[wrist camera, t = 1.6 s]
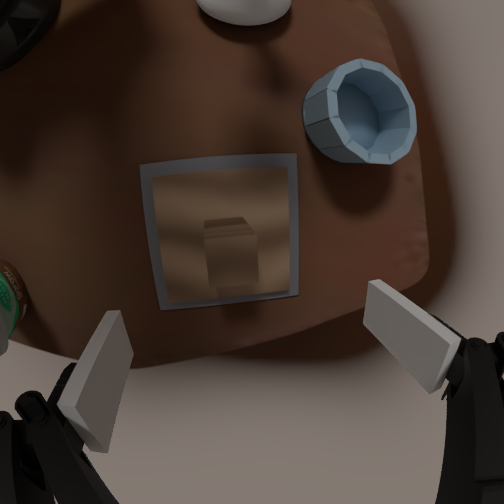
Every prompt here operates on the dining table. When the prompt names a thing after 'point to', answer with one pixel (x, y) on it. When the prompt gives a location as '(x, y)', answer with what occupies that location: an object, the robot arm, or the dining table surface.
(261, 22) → the flower in vase
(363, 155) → the ceramic bowl
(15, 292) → the food container
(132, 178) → the dining table surface
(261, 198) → the walnut lid
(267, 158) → the rubber mat
